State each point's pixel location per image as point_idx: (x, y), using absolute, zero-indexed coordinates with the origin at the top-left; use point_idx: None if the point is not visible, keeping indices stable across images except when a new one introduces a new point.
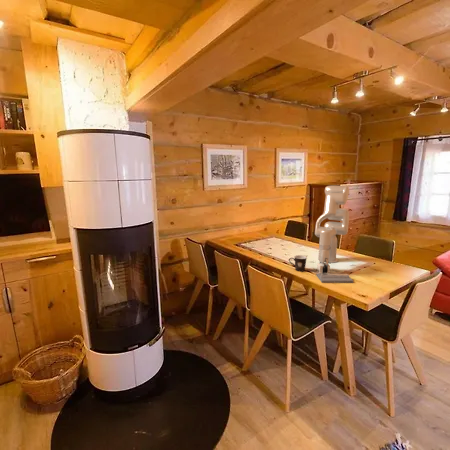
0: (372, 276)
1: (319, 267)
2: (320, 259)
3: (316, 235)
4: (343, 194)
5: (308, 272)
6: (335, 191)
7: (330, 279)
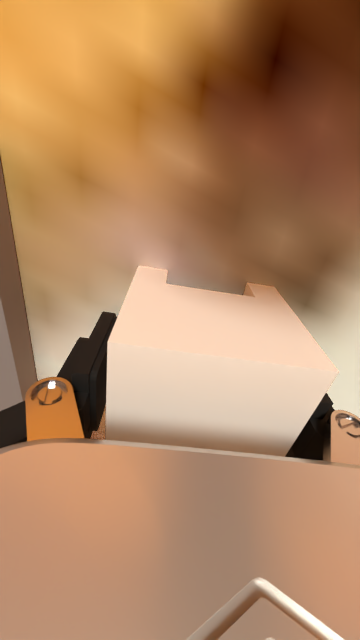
0: None
1: (147, 315)
2: (174, 598)
3: None
4: None
5: (205, 21)
6: None
7: None
